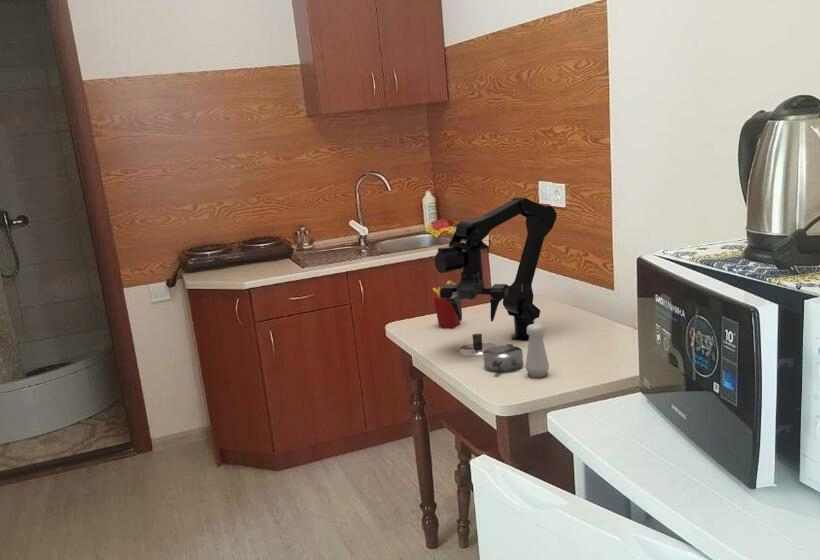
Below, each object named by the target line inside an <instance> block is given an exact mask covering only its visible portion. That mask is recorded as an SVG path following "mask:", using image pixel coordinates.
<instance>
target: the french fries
mask: <svg viewBox="0 0 820 560" xmlns="http://www.w3.org/2000/svg"><path fill="white" fill-rule="evenodd" d="M446 284H456V283H455V282H454V281H452V280H449V279H448V280H447V282H446ZM442 287H443V286H441V287H440V286H439V287H437V288H435V287H433V288H432V289H431V290H432V291H433V292H434V293H435V294H437V295H436V296H435V297H434V298H433V302H434V307H435V313H436V318H437V323H438V327H441V328H440V329H446V328H454V327H455V328H457V327H458V325H459V326H460V325H461V321H459V319H458V316H457V314H456V312H455V310H454V308H453V306H452V305H451V303H449V302H448V301H445V300H444V299H445V298H440V294H439V291H440V289H441V288H442ZM456 326H457V327H456ZM455 328H454V329H455Z"/></svg>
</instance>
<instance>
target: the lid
mask: <svg viewBox="0 0 820 560" xmlns="http://www.w3.org/2000/svg"><path fill="white" fill-rule="evenodd" d="M471 335H472V343H471V342H470V343H466V344H465V345H464V344H463V345H462V346H461V347H460V348H458V349H459V353H460V354H461V355H462V356H468V357H484V351H485V350H486V349H488V348H491V347H495V346H497V345H496V344H494V343H490V342H483V336H482V333H473V334H471Z"/></svg>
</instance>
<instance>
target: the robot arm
mask: <svg viewBox="0 0 820 560" xmlns="http://www.w3.org/2000/svg"><path fill="white" fill-rule="evenodd" d="M519 215H520V216H522V217H524V218H525V227H526V231H527V234H526V235H527V236H526V238H525V242H524V246H523V249H522V254H521V257H520V260H519V264H518V268H517V270H516V271H517V272H516V275H515V279H514V281H513V282H512V283H511V285H509V284H507V283H494V284H493V285H492V286H491V287H485V286H486V283H485V281H484V280H485V279H484V272H485V269H484V267H483V254H482V250H485V249H488V248H489V246H488V245H487V244H486V243H485V242H483V240H484V239H485V238H486V237H487V236H488V235H489V233H490V232H491V231H492V230H494V229H495V228H496V227H499V226H500V225H502V224H504V223H506V222H508V221H509V220H511V219H512V218H515V217H517V216H519ZM557 215H558V214H557V212H556V210H555V208H554V207H553V206H551V205H543V204H540V203H537V202H535V201H533V200H531V199H529V198H527V197H522V196H521V197H520V196H515V197H513V198H512V199H510V200H509V201H507V202H506V203H504V204H502V205H500V206H498V207H496V208H494V209H493V210H490V211H489V212H487V213H485V214H483V215H481V216H477V217H472V218H468V219H464V220H461V221H459V222H458V223H457V224H456V228H455V230H454V233H453V235H452V238H451V240H450V242H449V244H448V246H446V247H438V248H437V253H436V254H435V258H434V260H433V261H434V265H435V268H436V271H437V272H438V273H439V274H446V273H450V272H455V271H459V270H461V272H460V280H459V281H458V284H457V283H455V284H447V283H445V284H444V286H443V285H442V286H441V287H442V288H441V287H440V288H441V289H440V291H439V294H440V298H445V299H444V300H445V301H448V302H449V303H451V305H452V306H453V308H454V310H455V312H456V314H457V316H458V319H459V321H460V322H461V321H462V320H463V309H462V300H474V299H476V297H477V295H489V296H490V297H491V298H490V299H489V302H490V303H489V304H490V322H491V323H492V322H494V319H495V318H496V317H495V316H496V313H497V311H498V306H499V305H500V302H501V301H502V306H503V307H504V309H505V310H506V311H507V314H508V316H511V317H513V323H514V334H513V335H512V337H511V339H512V340H525V341H526V340H527V341H529V335H528V334H527V326H528V325H531V324H535V320H536V319H538V318H540V316H541V310H540V309H539V307H537V306H536V305H535V304H534V302H533V301H534V293H533V292H534V291H533V287H532V285H533V280H534V277H535V274H536V270H537V266H538V263H539V258H540V255H541V252H542V249H543V248H542V247H543V244H544V241H545V238H546V236H548V234H549V233H550V232H551V231H552V230H553V228H554V225H555V222H556V221H557V217H558V216H557Z"/></svg>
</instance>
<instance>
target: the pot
mask: <svg viewBox="0 0 820 560" xmlns="http://www.w3.org/2000/svg"><path fill="white" fill-rule="evenodd" d="M483 361H484V363H483V364H484V365H483V366H484V369H485V370H486V371H488V372H489V373H490V372H491V373H497V374H505V373H507V374H508V373H512V372H513V373H514V372H517V371H519V370H522V368H523V367H524V359H523V349H522V348H520V347H518V346H514V344H506V345H496V346H495V347H491V348H488V349H486V350H485V351H484V356H483Z"/></svg>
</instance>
